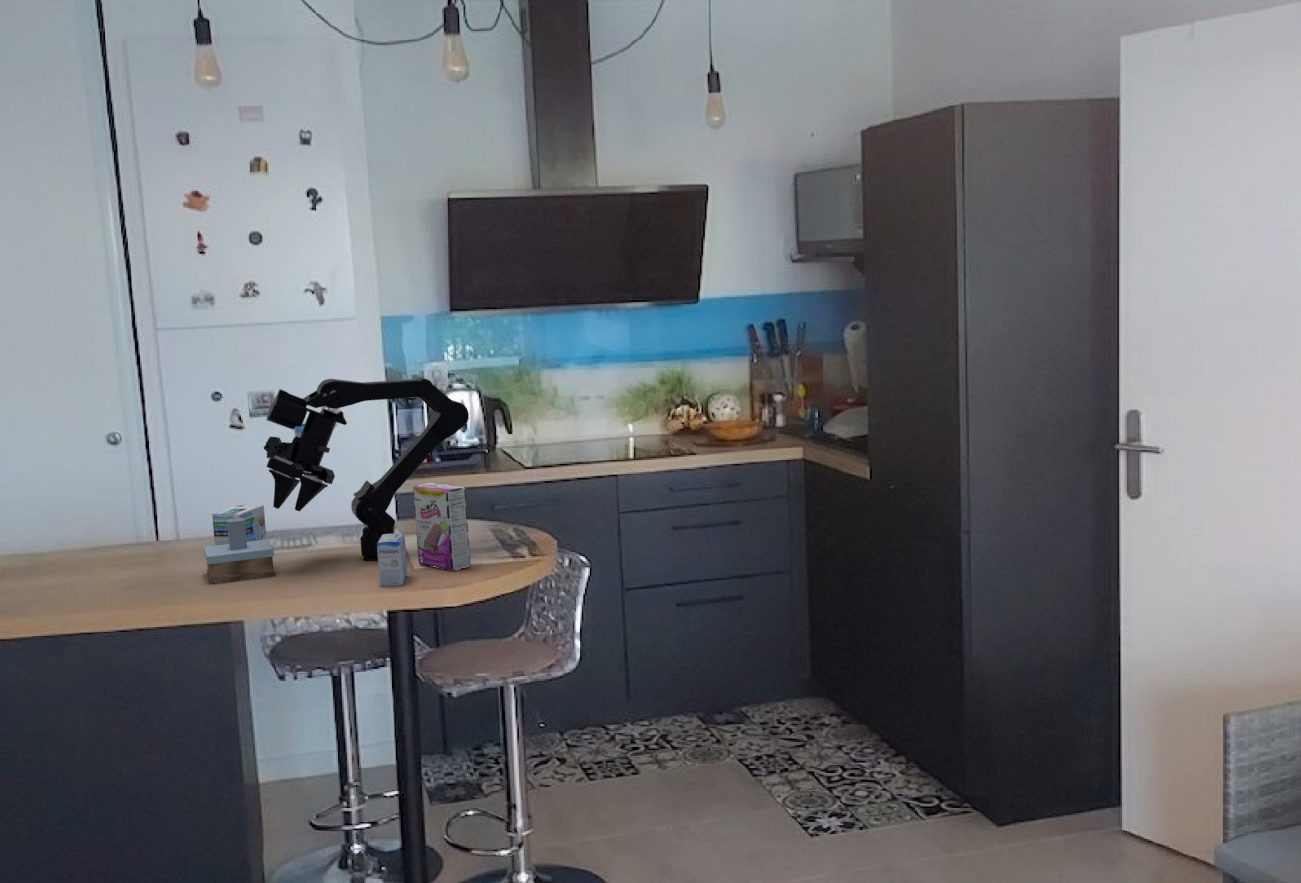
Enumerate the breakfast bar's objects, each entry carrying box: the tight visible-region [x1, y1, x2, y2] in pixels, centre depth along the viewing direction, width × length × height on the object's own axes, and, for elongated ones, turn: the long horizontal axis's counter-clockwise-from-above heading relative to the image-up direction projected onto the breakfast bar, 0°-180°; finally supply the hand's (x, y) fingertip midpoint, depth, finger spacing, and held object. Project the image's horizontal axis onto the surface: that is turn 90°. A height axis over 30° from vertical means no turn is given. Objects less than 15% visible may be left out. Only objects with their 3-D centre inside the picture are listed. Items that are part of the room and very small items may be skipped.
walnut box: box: [206, 556, 276, 585], centre depth 259 cm, size 12×10×4 cm
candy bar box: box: [412, 482, 471, 571], centre depth 257 cm, size 11×5×16 cm, turn 48°
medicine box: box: [377, 533, 408, 588], centre depth 247 cm, size 8×4×9 cm, turn 5°
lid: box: [203, 518, 275, 565], centre depth 259 cm, size 13×11×7 cm
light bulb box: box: [211, 504, 268, 546], centre depth 274 cm, size 11×7×11 cm, turn 168°
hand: (286, 509), depth 262 cm, fingers open, 9 cm apart
